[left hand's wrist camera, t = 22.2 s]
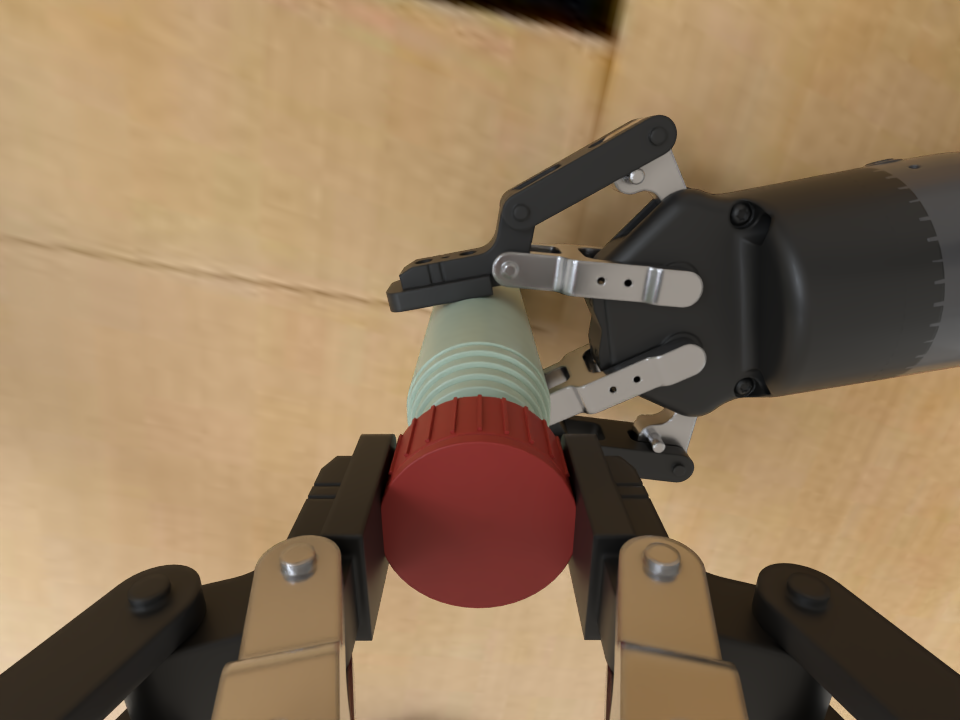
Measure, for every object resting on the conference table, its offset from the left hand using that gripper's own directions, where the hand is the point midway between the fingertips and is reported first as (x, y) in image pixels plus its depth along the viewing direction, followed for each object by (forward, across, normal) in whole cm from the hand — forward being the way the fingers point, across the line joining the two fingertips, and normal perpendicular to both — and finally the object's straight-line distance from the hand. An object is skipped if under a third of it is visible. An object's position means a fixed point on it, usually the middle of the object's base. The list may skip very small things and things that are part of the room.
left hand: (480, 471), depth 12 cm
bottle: (+15, 0, 0) cm, 15 cm away
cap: (-2, 0, 0) cm, 2 cm away
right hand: (+9, -3, 0) cm, 9 cm away
